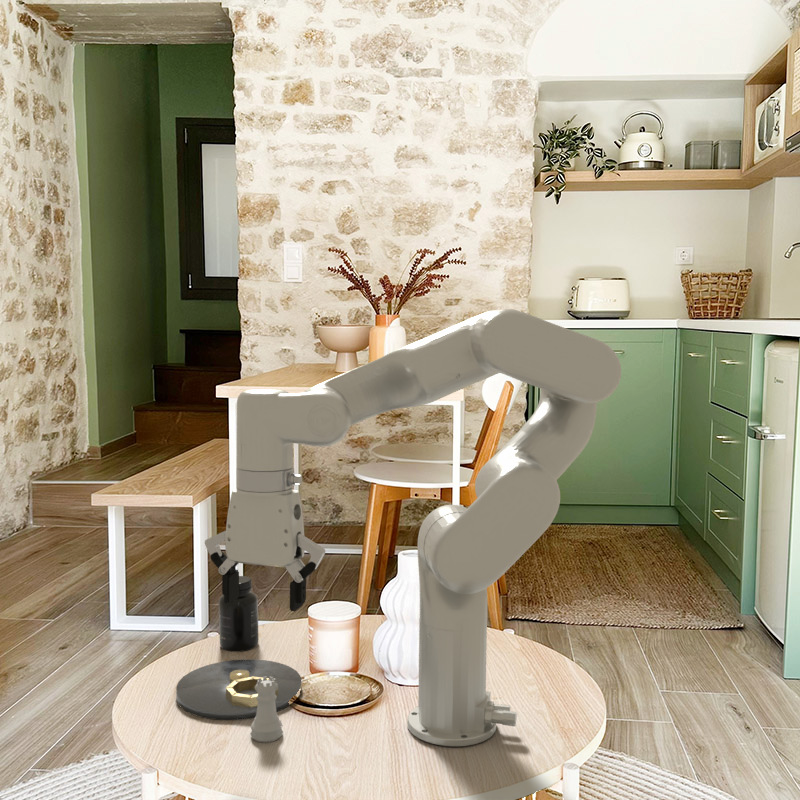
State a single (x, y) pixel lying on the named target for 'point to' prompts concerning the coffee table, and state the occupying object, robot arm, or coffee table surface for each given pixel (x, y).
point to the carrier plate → (234, 688)
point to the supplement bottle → (239, 619)
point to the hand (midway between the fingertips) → (263, 604)
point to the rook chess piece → (266, 712)
